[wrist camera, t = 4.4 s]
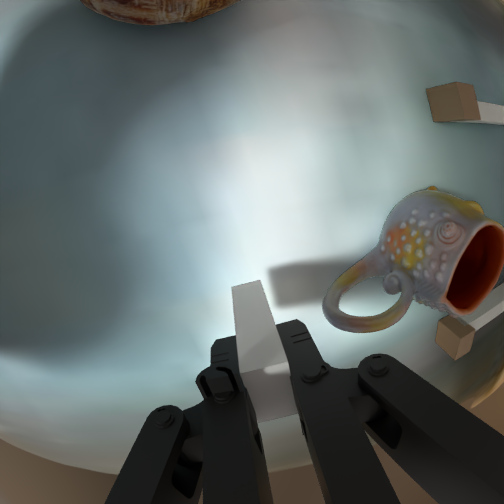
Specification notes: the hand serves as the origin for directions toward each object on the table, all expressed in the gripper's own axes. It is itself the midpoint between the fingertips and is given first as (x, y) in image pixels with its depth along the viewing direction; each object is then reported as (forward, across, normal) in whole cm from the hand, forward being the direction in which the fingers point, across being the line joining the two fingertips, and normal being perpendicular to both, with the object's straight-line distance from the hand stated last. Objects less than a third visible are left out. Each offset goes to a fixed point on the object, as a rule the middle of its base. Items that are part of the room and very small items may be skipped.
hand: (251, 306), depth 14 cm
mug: (+2, +9, 0) cm, 10 cm away
